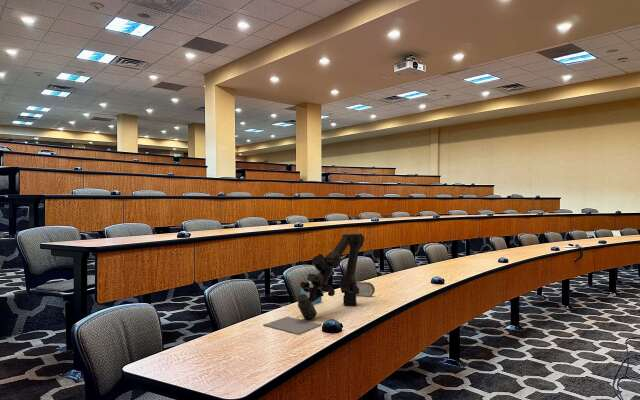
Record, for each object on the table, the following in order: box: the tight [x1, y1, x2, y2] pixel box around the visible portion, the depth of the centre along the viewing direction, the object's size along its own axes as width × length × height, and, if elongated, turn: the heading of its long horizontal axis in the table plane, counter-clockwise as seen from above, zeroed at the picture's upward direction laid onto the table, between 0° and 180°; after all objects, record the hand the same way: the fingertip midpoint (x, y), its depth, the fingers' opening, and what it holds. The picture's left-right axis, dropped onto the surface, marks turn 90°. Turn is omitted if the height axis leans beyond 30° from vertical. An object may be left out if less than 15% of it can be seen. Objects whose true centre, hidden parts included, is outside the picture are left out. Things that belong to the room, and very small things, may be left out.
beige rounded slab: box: [356, 280, 376, 298], centre depth 247 cm, size 15×3×8 cm, turn 71°
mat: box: [263, 316, 323, 336], centre depth 192 cm, size 16×22×1 cm
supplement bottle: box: [296, 293, 318, 321], centre depth 199 cm, size 7×7×12 cm
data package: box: [300, 280, 323, 306], centre depth 231 cm, size 12×4×12 cm, turn 137°
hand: (309, 303), depth 201 cm, fingers closed
